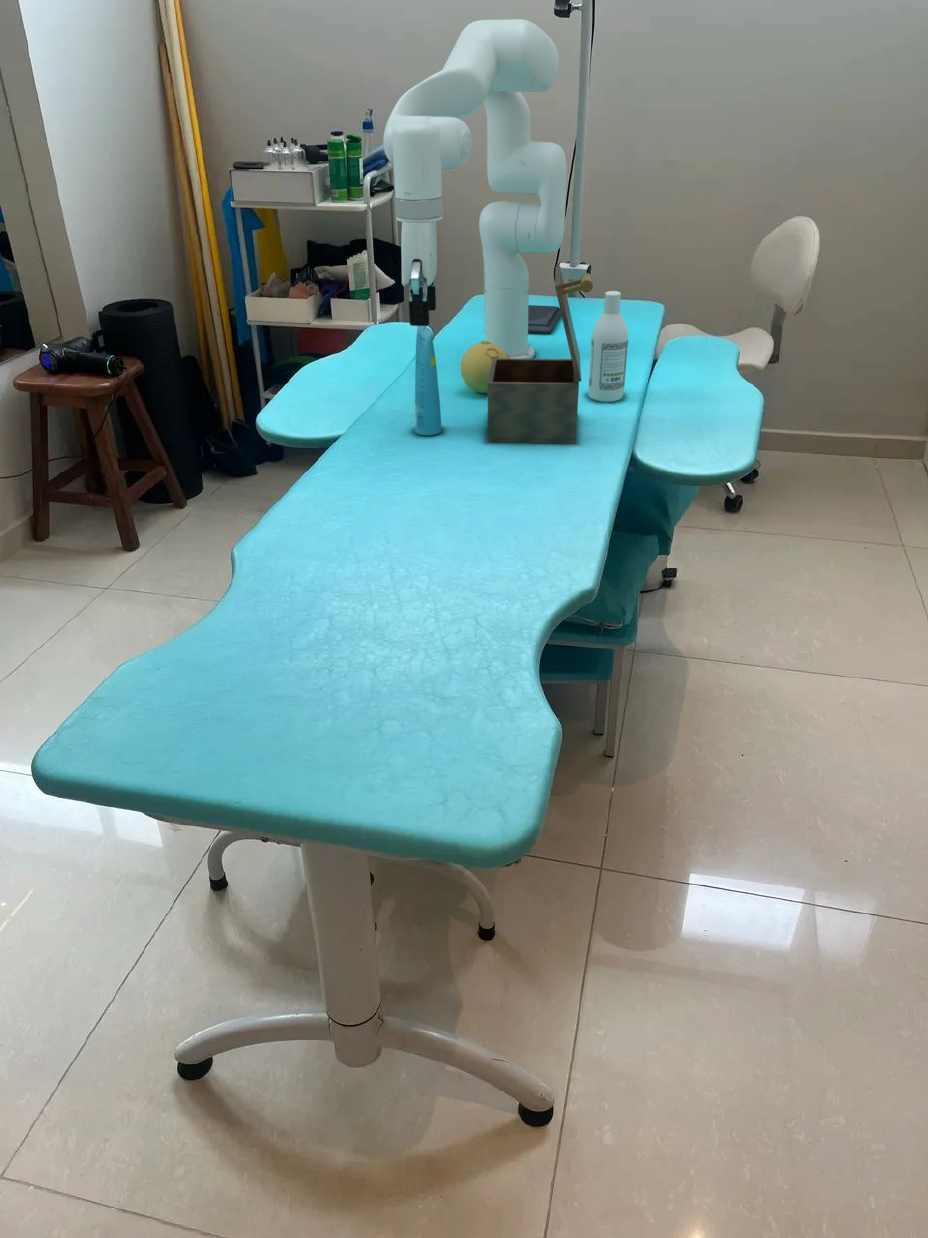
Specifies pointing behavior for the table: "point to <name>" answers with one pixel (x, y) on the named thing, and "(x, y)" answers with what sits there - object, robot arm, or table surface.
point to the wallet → (542, 318)
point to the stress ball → (479, 364)
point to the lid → (561, 292)
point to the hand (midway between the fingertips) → (423, 317)
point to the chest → (532, 401)
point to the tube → (426, 385)
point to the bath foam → (608, 352)
